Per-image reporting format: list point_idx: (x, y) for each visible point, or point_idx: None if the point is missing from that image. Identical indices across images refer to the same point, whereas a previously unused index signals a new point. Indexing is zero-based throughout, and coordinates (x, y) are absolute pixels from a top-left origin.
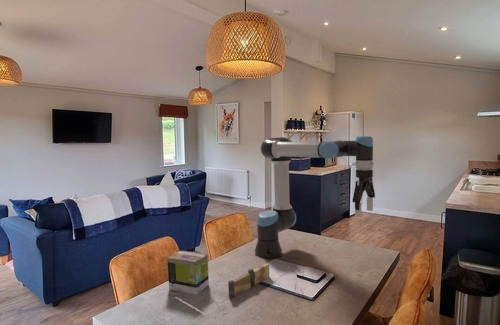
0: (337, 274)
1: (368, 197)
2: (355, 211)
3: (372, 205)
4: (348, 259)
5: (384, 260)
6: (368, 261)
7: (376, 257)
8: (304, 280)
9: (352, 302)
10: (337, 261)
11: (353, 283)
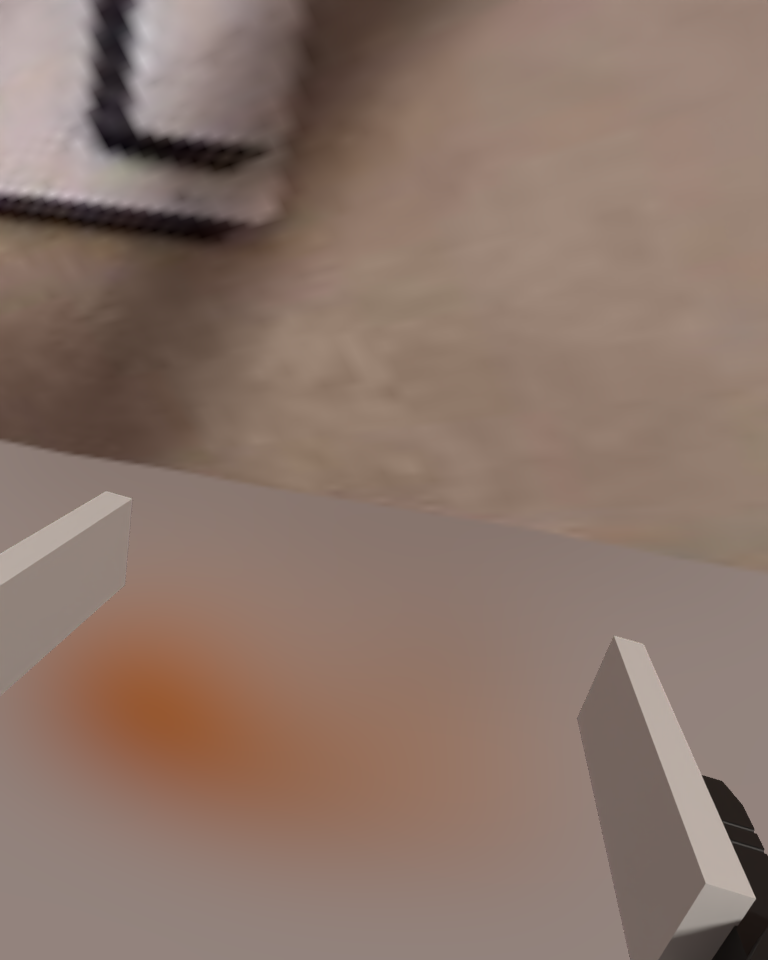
0: (280, 245)
1: (699, 919)
2: (47, 536)
3: (606, 808)
4: (586, 257)
5: (656, 511)
6: (597, 410)
7: (702, 455)
8: (79, 46)
9: (21, 400)
10: (510, 180)
11: (212, 369)
